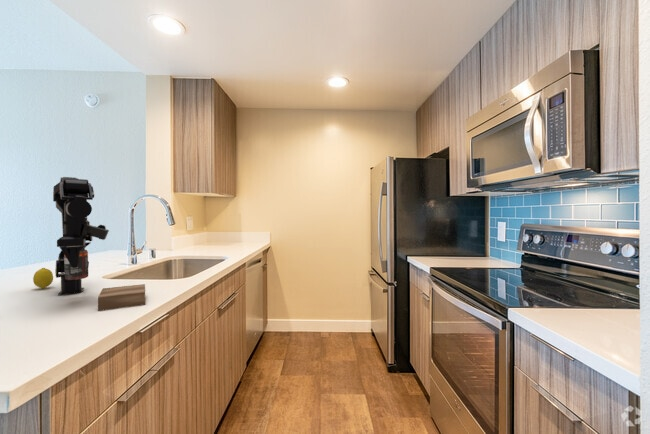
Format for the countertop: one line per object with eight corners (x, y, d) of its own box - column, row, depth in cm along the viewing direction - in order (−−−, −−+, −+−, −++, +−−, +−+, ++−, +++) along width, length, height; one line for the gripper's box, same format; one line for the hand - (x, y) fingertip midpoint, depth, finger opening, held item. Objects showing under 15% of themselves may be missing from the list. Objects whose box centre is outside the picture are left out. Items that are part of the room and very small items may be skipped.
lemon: (50, 286, 118) (49, 265, 117) (55, 288, 115) (55, 267, 115) (31, 289, 113) (30, 268, 113) (36, 291, 110) (36, 269, 110)
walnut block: (102, 300, 100) (102, 288, 100) (145, 295, 106) (145, 284, 106) (97, 311, 89) (97, 297, 89) (145, 304, 95) (144, 292, 95)
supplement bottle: (85, 275, 102) (85, 242, 102) (90, 278, 98) (90, 243, 98) (62, 278, 97) (62, 243, 97) (66, 281, 93) (66, 245, 93)
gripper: (103, 218, 93) (103, 268, 94) (109, 217, 109) (110, 259, 110) (56, 218, 88) (56, 272, 88) (69, 217, 104) (70, 262, 104)
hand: (76, 266), depth 98 cm, fingers closed on supplement bottle, 6 cm apart
